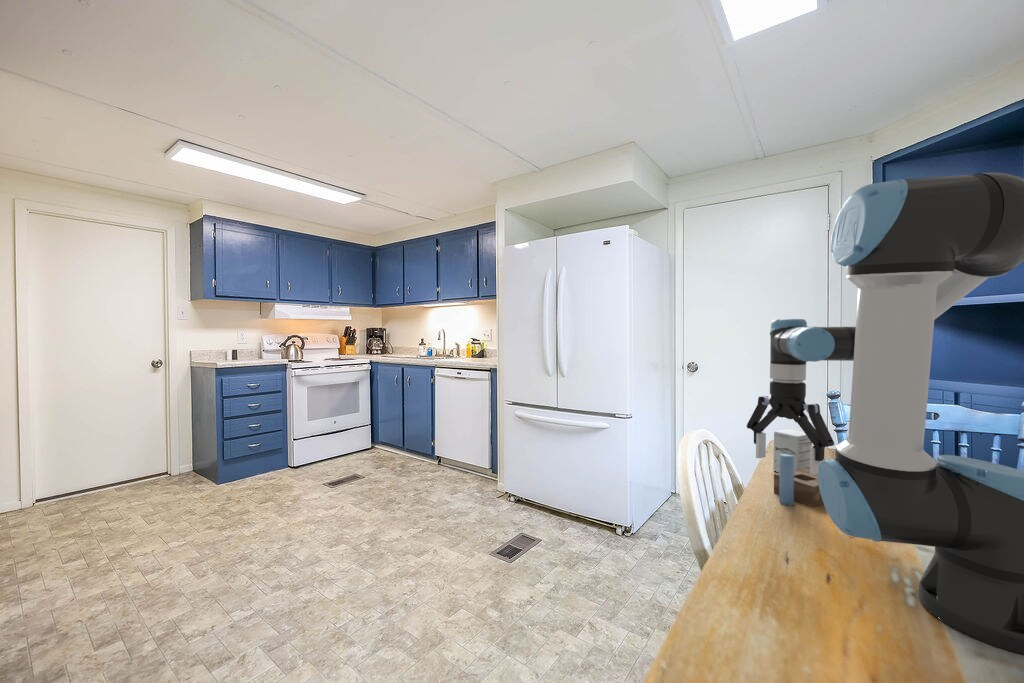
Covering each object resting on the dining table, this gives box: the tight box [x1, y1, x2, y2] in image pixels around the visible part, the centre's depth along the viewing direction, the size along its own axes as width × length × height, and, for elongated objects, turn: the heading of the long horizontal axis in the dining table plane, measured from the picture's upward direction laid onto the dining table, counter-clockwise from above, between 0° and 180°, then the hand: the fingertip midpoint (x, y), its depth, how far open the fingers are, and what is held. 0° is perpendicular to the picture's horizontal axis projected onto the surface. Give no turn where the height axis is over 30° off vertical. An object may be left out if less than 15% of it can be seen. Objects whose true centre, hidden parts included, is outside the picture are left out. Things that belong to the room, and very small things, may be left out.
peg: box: [778, 454, 795, 507], centre depth 104 cm, size 3×3×12 cm
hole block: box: [773, 467, 824, 508], centre depth 111 cm, size 18×10×5 cm, turn 113°
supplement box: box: [772, 428, 813, 473], centre depth 127 cm, size 7×7×13 cm
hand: (786, 465), depth 105 cm, fingers open, 13 cm apart
